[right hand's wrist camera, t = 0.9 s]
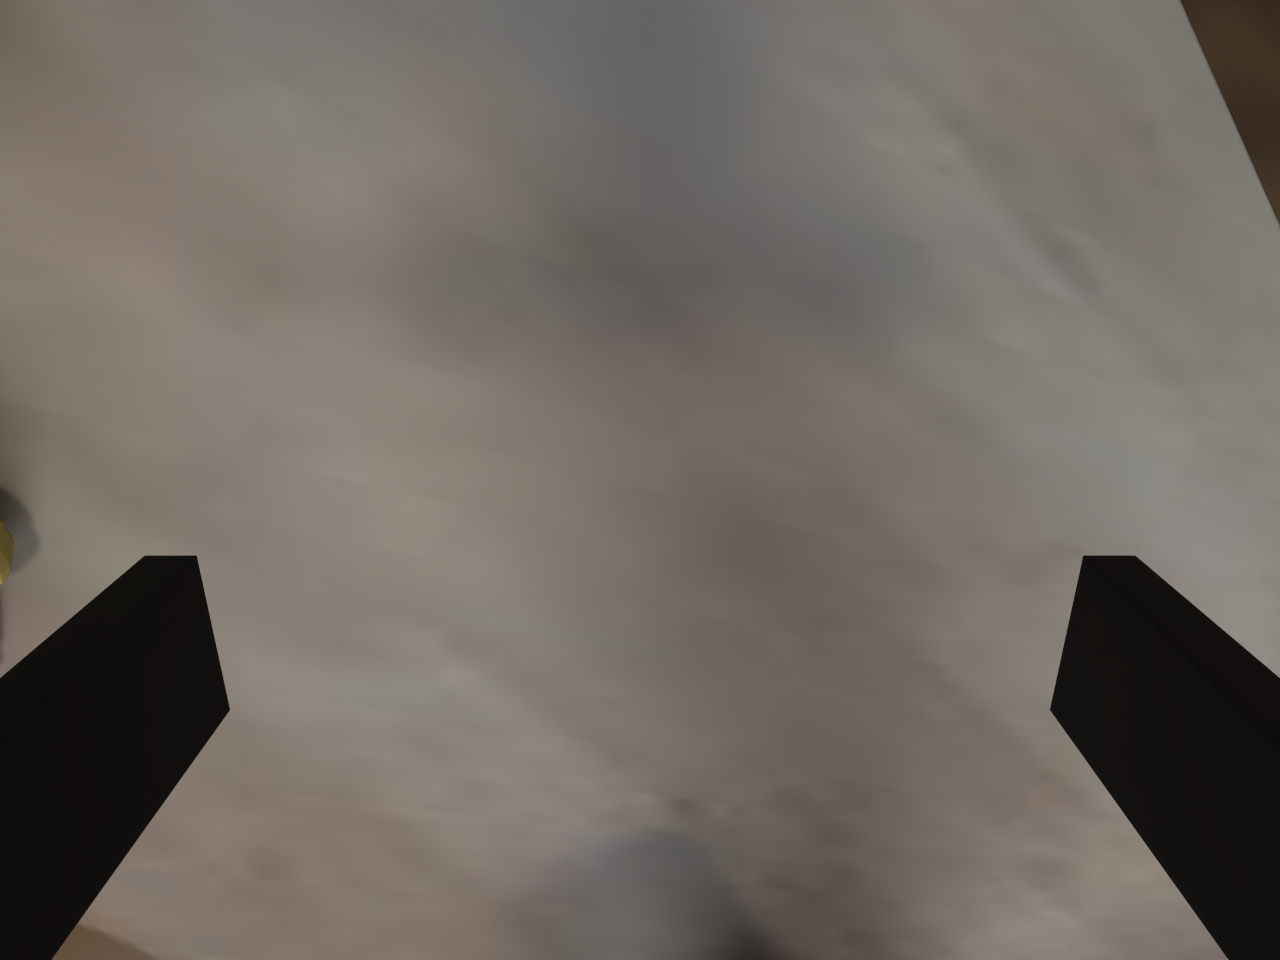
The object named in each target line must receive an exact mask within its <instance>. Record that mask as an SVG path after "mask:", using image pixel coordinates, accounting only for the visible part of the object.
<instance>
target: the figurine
mask: <svg viewBox="0 0 1280 960" xmlns="http://www.w3.org/2000/svg"><path fill="white" fill-rule="evenodd" d="M13 550H14V541H13V536H12V535H11V533H10V532H9V531H8V530H7V529H6V527H5V525H4V522H2V521H1V520H0V585H1V584H2V583H3V582H4V581H5V579H6V578H7V577H8V575H9V572H10V568H11V559H12V557H13V554H12V552H13Z"/></svg>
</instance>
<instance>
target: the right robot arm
mask: <svg viewBox="0 0 1280 960" xmlns="http://www.w3.org/2000/svg"><path fill="white" fill-rule="evenodd" d="M229 710H230V708H229V703H228V698H227V694H226V689H225V685H224V680H223V675H222V671H221V666H220V662H219V657H218V652H217V648H216V643H215V638H214V634H213V629H212V625H211V620H210V615H209V611H208V606H207V602H206V597H205V592H204V588H203V583H202V578H201V574H200V569H199V565H198V560H197V556H144V557H143V558H142V559H140V560H139V561H138V562H137V563H136V564H134V565H133V566H132V567H131V568H130V569H129V570H127V571H126V572H125V573H124V574H123V575H121V576H120V577H119V578H118V579H117V580H116V581H114V582H113V583H112V584H111V585H110V586H108V587H107V588H106V589H105V590H104V591H103V592H101V593H100V594H99V595H98V596H97V597H95V598H94V599H93V600H92V601H91V602H90V603H88V604H87V605H86V606H85V607H84V608H82V609H81V610H80V611H79V612H78V613H77V614H75V615H74V616H73V617H72V618H71V619H70V620H68V621H67V622H66V623H65V624H64V625H62V626H61V627H60V628H59V629H58V630H57V631H55V632H54V633H53V634H52V635H51V636H49V637H48V638H47V639H46V640H45V641H44V642H42V643H41V644H40V645H39V646H38V647H36V648H35V649H34V650H33V651H32V652H31V653H29V654H28V655H27V656H26V657H25V658H23V659H22V660H21V661H20V662H19V663H18V664H16V665H15V666H14V667H13V668H12V669H10V670H9V671H8V672H7V673H6V674H5V675H3V676H2V677H1V678H0V960H51V959H52V958H53V957H54V955H55V954H56V952H57V951H58V950H59V948H60V947H61V945H62V944H63V943H64V941H65V940H66V938H67V937H68V936H69V934H70V933H71V931H72V930H73V929H74V927H75V926H76V924H77V923H78V922H79V920H80V919H81V917H82V916H83V915H84V913H85V912H86V910H87V909H88V908H89V906H90V905H91V903H92V902H93V901H94V899H95V898H96V896H97V895H98V894H99V892H100V891H101V890H102V888H103V887H104V885H105V884H106V883H107V881H108V880H109V878H110V877H111V876H112V874H113V873H114V871H115V870H116V869H117V867H118V866H119V864H120V863H121V862H122V860H123V859H124V857H125V856H126V855H127V853H128V852H129V850H130V849H131V848H132V846H133V845H134V843H135V842H136V841H137V839H138V838H139V836H140V835H141V834H142V832H143V831H144V829H145V828H146V827H147V825H148V824H149V822H150V821H151V820H152V818H153V817H154V815H155V814H156V813H157V811H158V810H159V808H160V807H161V806H162V804H163V803H164V801H165V800H166V799H167V797H168V796H169V794H170V793H171V792H172V790H173V789H174V787H175V786H176V785H177V783H178V782H179V780H180V779H181V778H182V776H183V775H184V773H185V772H186V771H187V769H188V768H189V766H190V765H191V764H192V762H193V761H194V759H195V758H196V757H197V755H198V754H199V752H200V751H201V750H202V748H203V747H204V745H205V744H206V743H207V741H208V740H209V738H210V737H211V736H212V734H213V733H214V731H215V730H216V729H217V727H218V726H219V724H220V723H221V722H222V720H223V719H224V717H225V716H226V715H227V713H228V712H229ZM1050 710H1051V712H1052V713H1053V715H1054V716H1055V717H1056V719H1057V720H1058V722H1059V723H1060V724H1061V726H1062V727H1063V729H1064V730H1065V731H1066V733H1067V734H1068V736H1069V737H1070V738H1071V740H1072V741H1073V743H1074V744H1075V745H1076V747H1077V748H1078V750H1079V751H1080V752H1081V754H1082V755H1083V757H1084V758H1085V759H1086V761H1087V762H1088V764H1089V765H1090V766H1091V768H1092V769H1093V771H1094V772H1095V773H1096V775H1097V776H1098V778H1099V779H1100V780H1101V782H1102V783H1103V785H1104V786H1105V787H1106V789H1107V790H1108V792H1109V793H1110V794H1111V796H1112V797H1113V799H1114V800H1115V801H1116V803H1117V804H1118V806H1119V807H1120V808H1121V810H1122V811H1123V813H1124V814H1125V815H1126V817H1127V818H1128V820H1129V821H1130V822H1131V824H1132V825H1133V827H1134V828H1135V829H1136V831H1137V832H1138V834H1139V835H1140V836H1141V838H1142V839H1143V841H1144V842H1145V843H1146V845H1147V846H1148V848H1149V849H1150V850H1151V852H1152V853H1153V855H1154V856H1155V857H1156V859H1157V860H1158V862H1159V863H1160V864H1161V866H1162V867H1163V869H1164V870H1165V871H1166V873H1167V874H1168V876H1169V877H1170V878H1171V880H1172V881H1173V883H1174V884H1175V885H1176V887H1177V888H1178V890H1179V891H1180V892H1181V894H1182V895H1183V896H1184V898H1185V899H1186V901H1187V902H1188V903H1189V905H1190V906H1191V908H1192V909H1193V910H1194V912H1195V913H1196V915H1197V916H1198V917H1199V919H1200V920H1201V922H1202V923H1203V924H1204V926H1205V927H1206V929H1207V930H1208V931H1209V933H1210V934H1211V936H1212V937H1213V938H1214V940H1215V941H1216V943H1217V944H1218V945H1219V947H1220V948H1221V950H1222V951H1223V952H1224V954H1225V955H1226V957H1227V958H1228V959H1229V960H1280V678H1279V677H1278V676H1277V675H1275V674H1274V673H1273V672H1272V671H1271V670H1270V669H1268V668H1267V667H1266V666H1265V665H1264V664H1262V663H1261V662H1260V661H1259V660H1258V659H1257V658H1255V657H1254V656H1253V655H1252V654H1251V653H1249V652H1248V651H1247V650H1246V649H1245V648H1244V647H1242V646H1241V645H1240V644H1239V643H1238V642H1236V641H1235V640H1234V639H1233V638H1232V637H1231V636H1229V635H1228V634H1227V633H1226V632H1225V631H1223V630H1222V629H1221V628H1220V627H1219V626H1218V625H1216V624H1215V623H1214V622H1213V621H1212V620H1210V619H1209V618H1208V617H1207V616H1206V615H1205V614H1203V613H1202V612H1201V611H1200V610H1199V609H1198V608H1196V607H1195V606H1194V605H1193V604H1192V603H1190V602H1189V601H1188V600H1187V599H1186V598H1185V597H1183V596H1182V595H1181V594H1180V593H1179V592H1177V591H1176V590H1175V589H1174V588H1173V587H1172V586H1170V585H1169V584H1168V583H1167V582H1166V581H1164V580H1163V579H1162V578H1161V577H1160V576H1159V575H1157V574H1156V573H1155V572H1154V571H1153V570H1151V569H1150V568H1149V567H1148V566H1147V565H1146V564H1144V563H1143V562H1142V561H1141V560H1140V559H1138V558H1137V557H1136V556H1083V560H1082V565H1081V569H1080V574H1079V578H1078V583H1077V588H1076V592H1075V597H1074V602H1073V606H1072V611H1071V615H1070V620H1069V625H1068V629H1067V634H1066V638H1065V643H1064V648H1063V652H1062V657H1061V662H1060V666H1059V671H1058V675H1057V680H1056V685H1055V689H1054V694H1053V698H1052V703H1051V708H1050Z"/></svg>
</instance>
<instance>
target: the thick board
mask: <svg viewBox="0 0 1280 960" xmlns="http://www.w3.org/2000/svg"><path fill="white" fill-rule="evenodd" d="M1181 2H1182V4H1183V6H1184V8H1185V11H1186V13H1187V15H1188V17H1189V20H1190V22H1191V24H1192V26H1193V29H1194V31H1195V33H1196V35H1197V38H1198V40H1199V42H1200V44H1201V47H1202V49H1203V51H1204V54H1205V56H1206V58H1207V60H1208V63H1209V65H1210V67H1211V69H1212V72H1213V74H1214V76H1215V78H1216V81H1217V83H1218V85H1219V87H1220V90H1221V92H1222V94H1223V97H1224V99H1225V101H1226V103H1227V106H1228V108H1229V110H1230V112H1231V115H1232V117H1233V119H1234V121H1235V124H1236V126H1237V128H1238V130H1239V133H1240V135H1241V137H1242V139H1243V142H1244V144H1245V146H1246V149H1247V151H1248V153H1249V155H1250V158H1251V160H1252V162H1253V164H1254V167H1255V169H1256V171H1257V173H1258V176H1259V178H1260V180H1261V182H1262V185H1263V187H1264V189H1265V191H1266V194H1267V196H1268V198H1269V201H1270V203H1271V205H1272V207H1273V210H1274V212H1275V214H1276V216H1277V219H1278V221H1279V223H1280V0H1181Z"/></svg>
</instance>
